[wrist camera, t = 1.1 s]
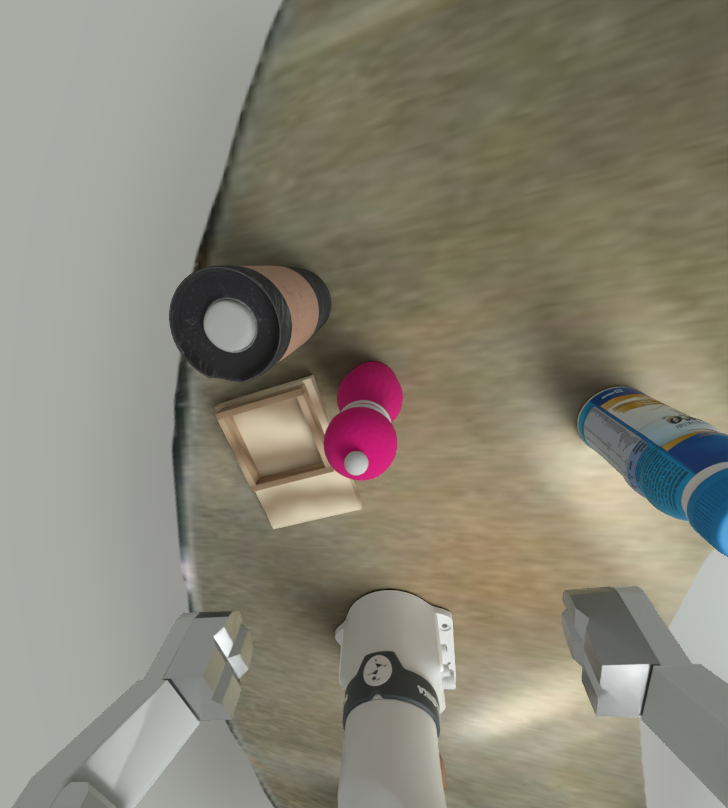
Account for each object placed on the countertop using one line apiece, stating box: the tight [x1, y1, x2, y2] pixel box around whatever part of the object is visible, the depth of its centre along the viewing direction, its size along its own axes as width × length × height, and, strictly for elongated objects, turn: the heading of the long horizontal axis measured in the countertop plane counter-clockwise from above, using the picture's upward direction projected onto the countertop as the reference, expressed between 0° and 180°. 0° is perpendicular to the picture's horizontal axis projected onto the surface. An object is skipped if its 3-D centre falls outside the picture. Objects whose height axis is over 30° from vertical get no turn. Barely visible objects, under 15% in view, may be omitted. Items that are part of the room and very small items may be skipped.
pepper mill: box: [324, 361, 403, 480], centre depth 36 cm, size 7×7×20 cm
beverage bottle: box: [577, 387, 728, 557], centre depth 34 cm, size 8×8×20 cm
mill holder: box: [215, 375, 362, 529], centre depth 47 cm, size 19×13×4 cm
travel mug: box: [169, 266, 331, 383], centre depth 33 cm, size 8×8×20 cm
